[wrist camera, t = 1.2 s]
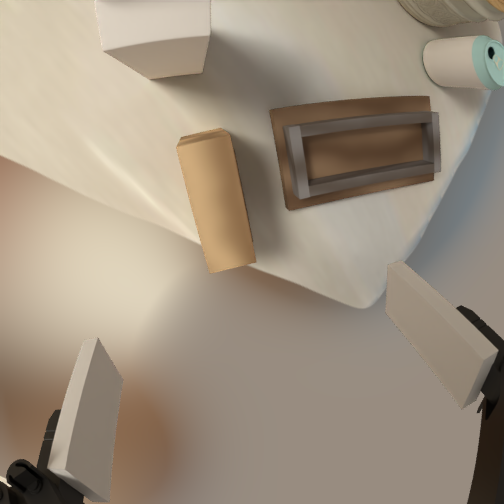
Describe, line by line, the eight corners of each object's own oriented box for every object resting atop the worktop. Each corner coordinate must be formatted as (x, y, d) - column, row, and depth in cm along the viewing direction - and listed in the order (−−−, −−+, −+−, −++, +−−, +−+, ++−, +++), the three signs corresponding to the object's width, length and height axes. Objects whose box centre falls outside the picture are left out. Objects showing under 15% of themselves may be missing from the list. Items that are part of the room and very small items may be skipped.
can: (421, 82, 34) (484, 85, 24) (418, 35, 31) (479, 27, 21) (455, 89, 35) (515, 96, 25) (452, 46, 32) (512, 44, 22)
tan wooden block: (205, 233, 39) (209, 273, 30) (181, 137, 34) (176, 147, 25) (242, 224, 39) (258, 261, 30) (222, 127, 34) (232, 134, 25)
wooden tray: (269, 109, 34) (277, 110, 30) (422, 95, 35) (441, 97, 32) (285, 206, 39) (295, 217, 36) (427, 177, 41) (444, 185, 37)
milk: (202, 73, 31) (217, 23, 11) (147, 80, 30) (83, 44, 10) (200, 24, 28) (213, -76, 9) (145, 30, 27) (88, -56, 8)
